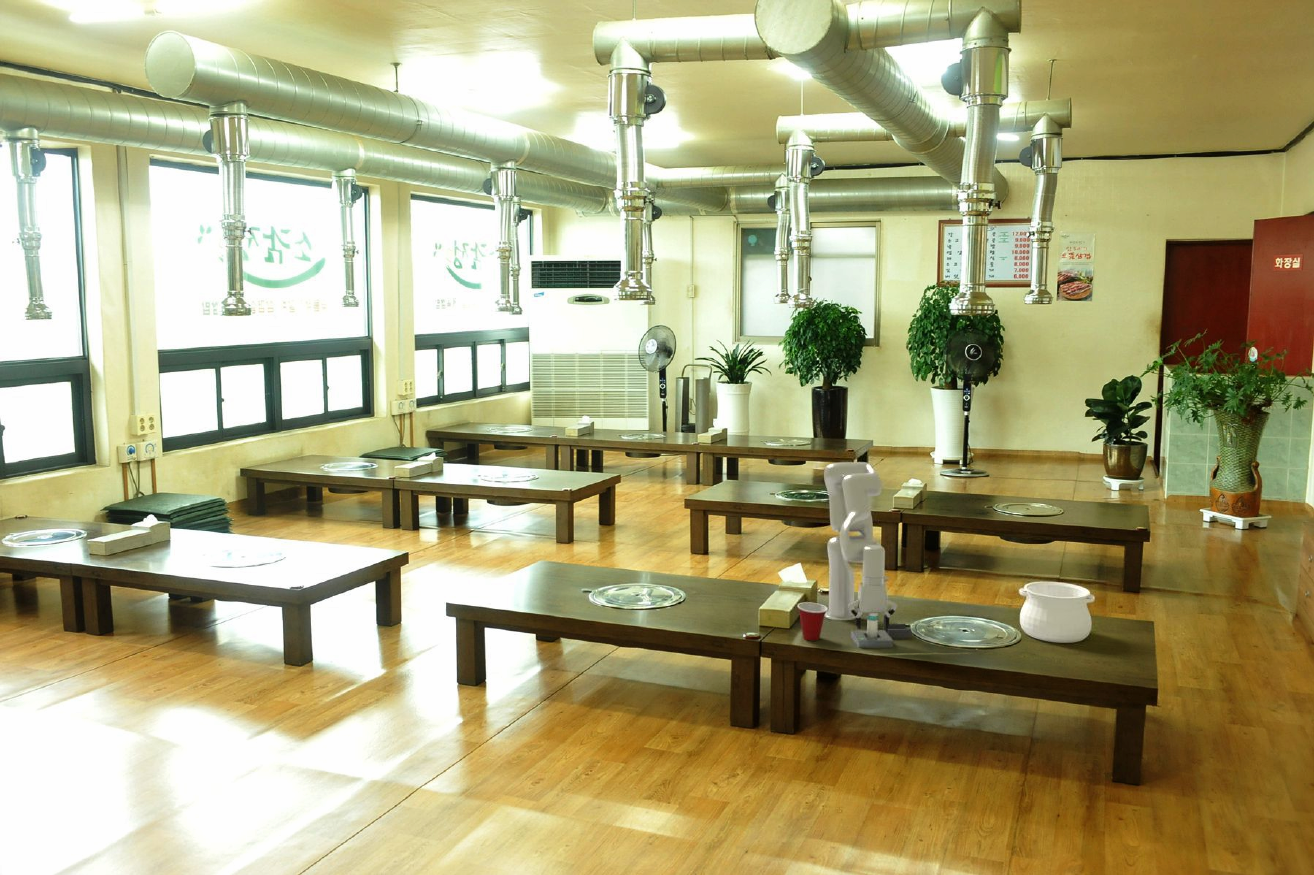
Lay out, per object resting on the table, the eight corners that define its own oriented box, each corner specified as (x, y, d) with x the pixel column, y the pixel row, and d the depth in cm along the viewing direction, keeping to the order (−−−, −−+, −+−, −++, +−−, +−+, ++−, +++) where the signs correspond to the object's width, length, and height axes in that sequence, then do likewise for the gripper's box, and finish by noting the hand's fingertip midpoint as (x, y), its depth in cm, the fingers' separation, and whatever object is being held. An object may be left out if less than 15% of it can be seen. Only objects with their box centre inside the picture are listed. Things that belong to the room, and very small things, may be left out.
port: (851, 638, 376) (851, 629, 376) (884, 638, 376) (884, 629, 376) (858, 649, 364) (858, 640, 364) (892, 648, 365) (893, 639, 364)
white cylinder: (865, 640, 372) (866, 610, 370) (875, 640, 372) (876, 610, 371) (867, 643, 368) (868, 613, 367) (878, 643, 368) (879, 613, 367)
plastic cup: (822, 644, 369) (822, 611, 368) (793, 640, 374) (793, 608, 373) (830, 636, 379) (831, 603, 378) (802, 632, 384) (802, 600, 382)
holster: (882, 633, 382) (883, 623, 382) (904, 632, 383) (904, 623, 382) (888, 640, 375) (888, 630, 374) (910, 639, 375) (910, 630, 374)
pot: (1013, 639, 375) (1015, 593, 373) (1021, 621, 397) (1023, 578, 395) (1091, 649, 364) (1093, 602, 362) (1094, 629, 386) (1096, 585, 384)
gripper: (894, 577, 372) (893, 624, 374) (846, 578, 371) (845, 625, 373) (900, 583, 364) (899, 630, 366) (851, 583, 364) (850, 631, 366)
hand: (872, 627), depth 370 cm, fingers open, 9 cm apart
